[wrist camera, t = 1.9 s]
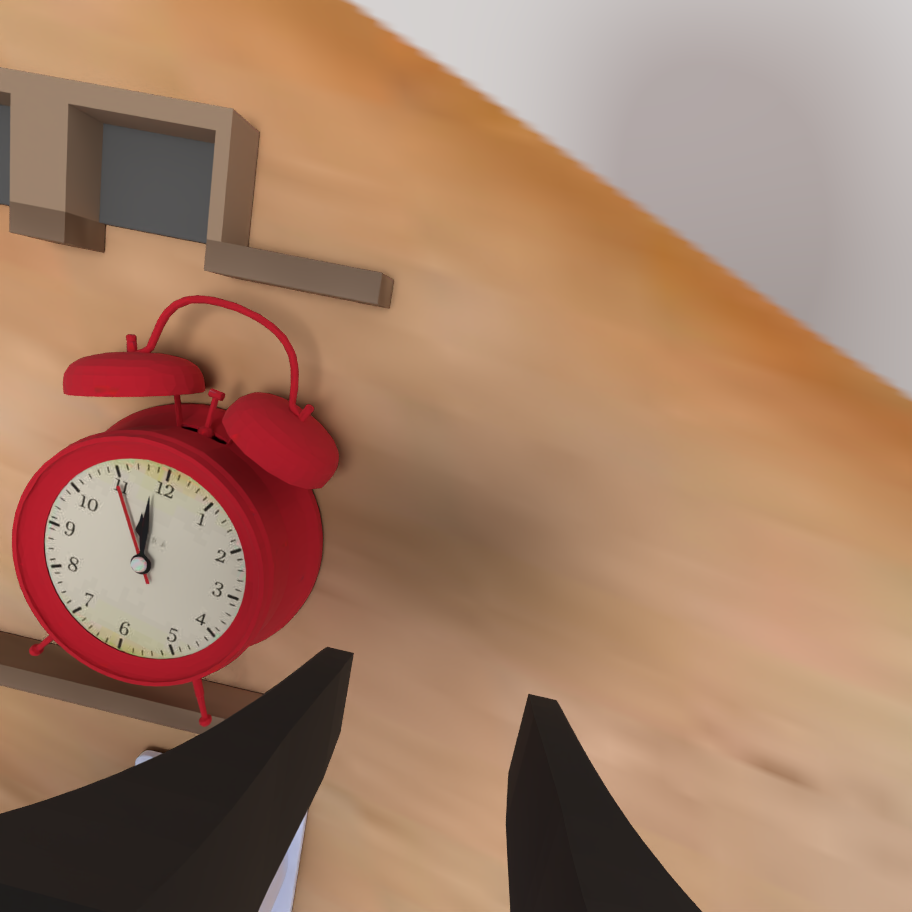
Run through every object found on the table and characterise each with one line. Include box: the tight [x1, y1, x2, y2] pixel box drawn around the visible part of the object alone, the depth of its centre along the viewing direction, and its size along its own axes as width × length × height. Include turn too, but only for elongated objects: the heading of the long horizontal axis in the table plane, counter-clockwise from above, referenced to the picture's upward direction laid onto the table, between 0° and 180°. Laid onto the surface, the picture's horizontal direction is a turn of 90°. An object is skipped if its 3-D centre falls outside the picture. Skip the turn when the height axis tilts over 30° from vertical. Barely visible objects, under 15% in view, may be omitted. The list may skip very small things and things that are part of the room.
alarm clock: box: [12, 295, 339, 727], centre depth 19 cm, size 10×6×15 cm
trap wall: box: [0, 201, 394, 734], centre depth 20 cm, size 19×21×2 cm
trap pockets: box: [0, 67, 260, 247], centre depth 18 cm, size 4×13×2 cm, turn 79°
